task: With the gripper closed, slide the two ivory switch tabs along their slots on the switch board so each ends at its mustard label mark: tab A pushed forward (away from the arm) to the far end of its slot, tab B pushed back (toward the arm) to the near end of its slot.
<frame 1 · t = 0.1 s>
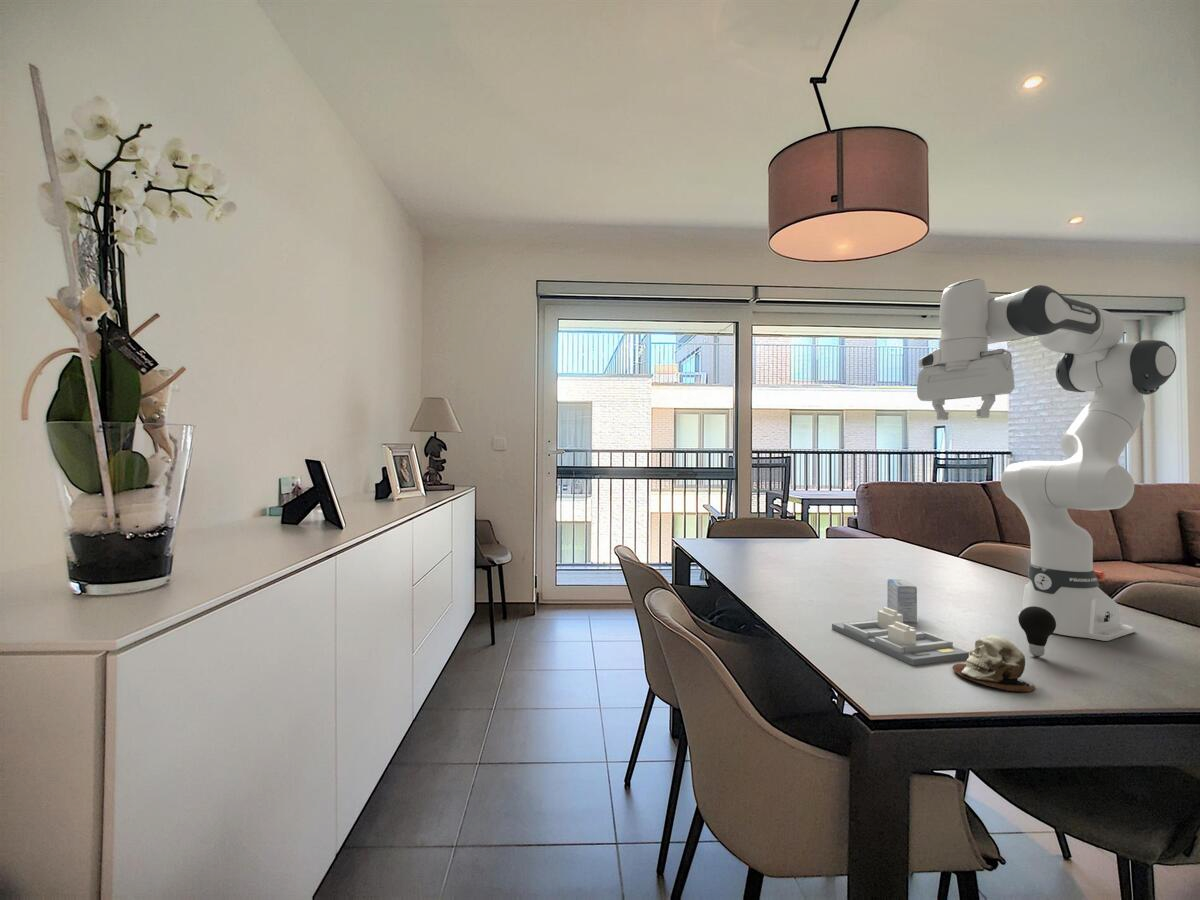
hand: (962, 419, 119), 48 cm above the table, fingers open, 8 cm apart
skull: (992, 680, 99), on the table
tab A: (890, 619, 122), point 3 cm above the table, slide at -3.0 cm
light bulb: (1036, 658, 109), on the table
tab B: (901, 634, 111), point 3 cm above the table, slide at 3.0 cm
medicine box: (901, 618, 135), on the table
switch board: (895, 642, 117), on the table
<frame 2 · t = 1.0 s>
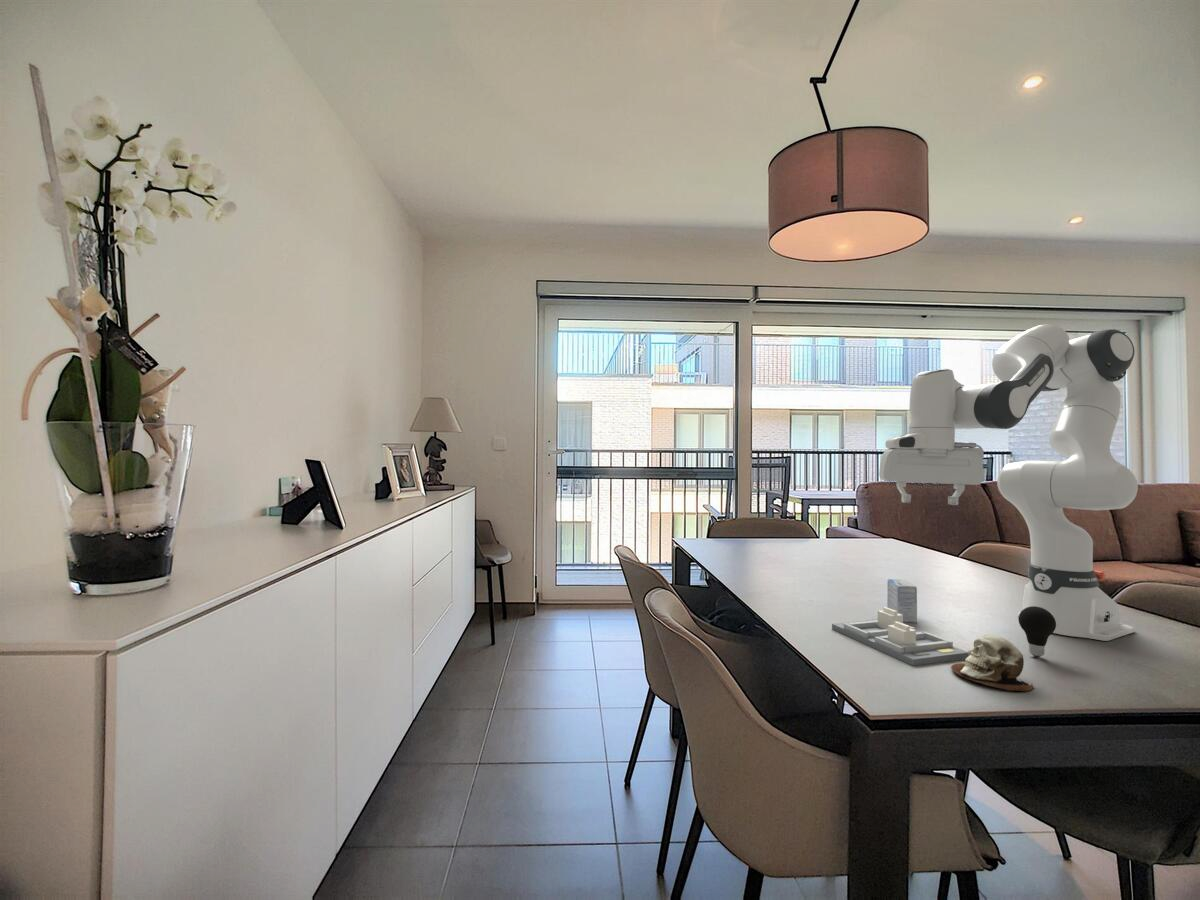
hand: (929, 503, 122), 29 cm above the table, fingers open, 8 cm apart
nothing on the table moved.
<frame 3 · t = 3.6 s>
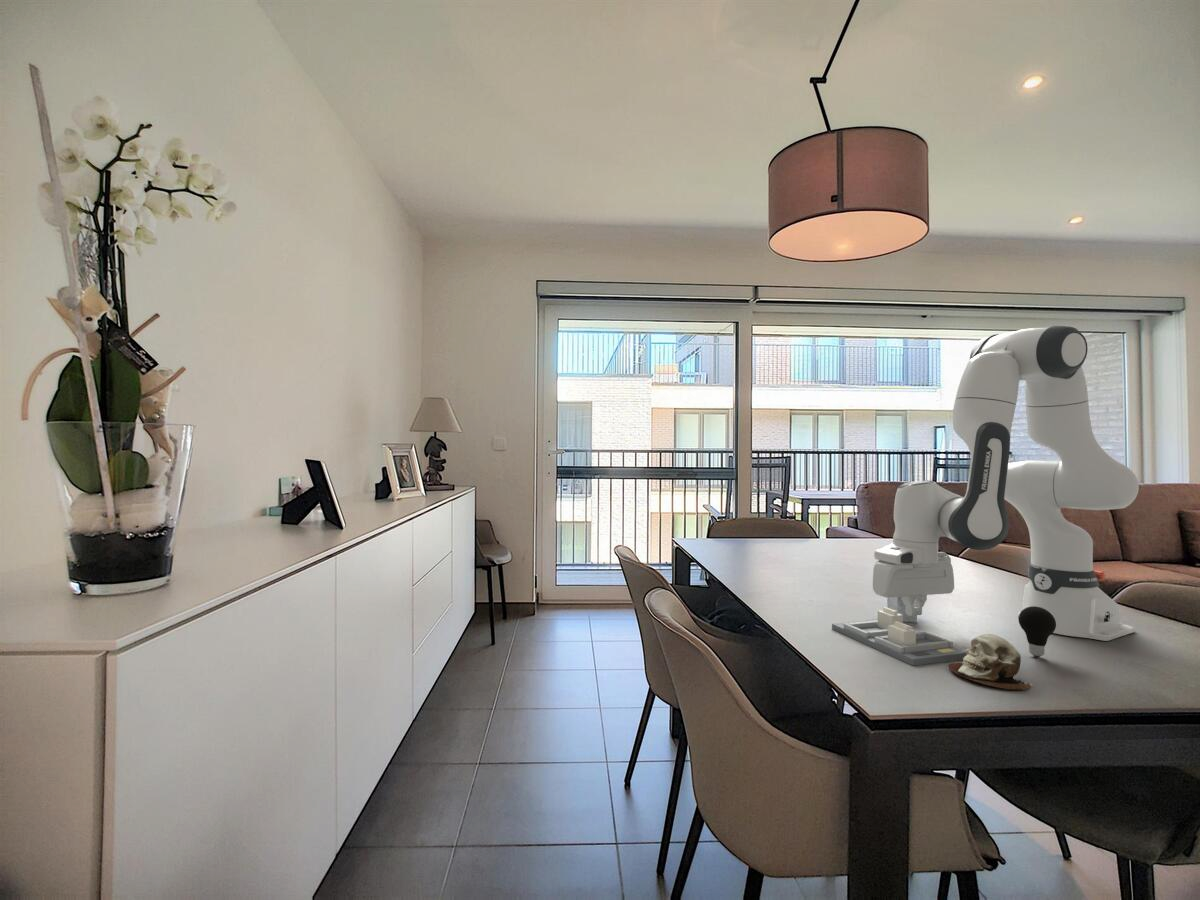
hand: (913, 614, 123), 4 cm above the table, fingers closed
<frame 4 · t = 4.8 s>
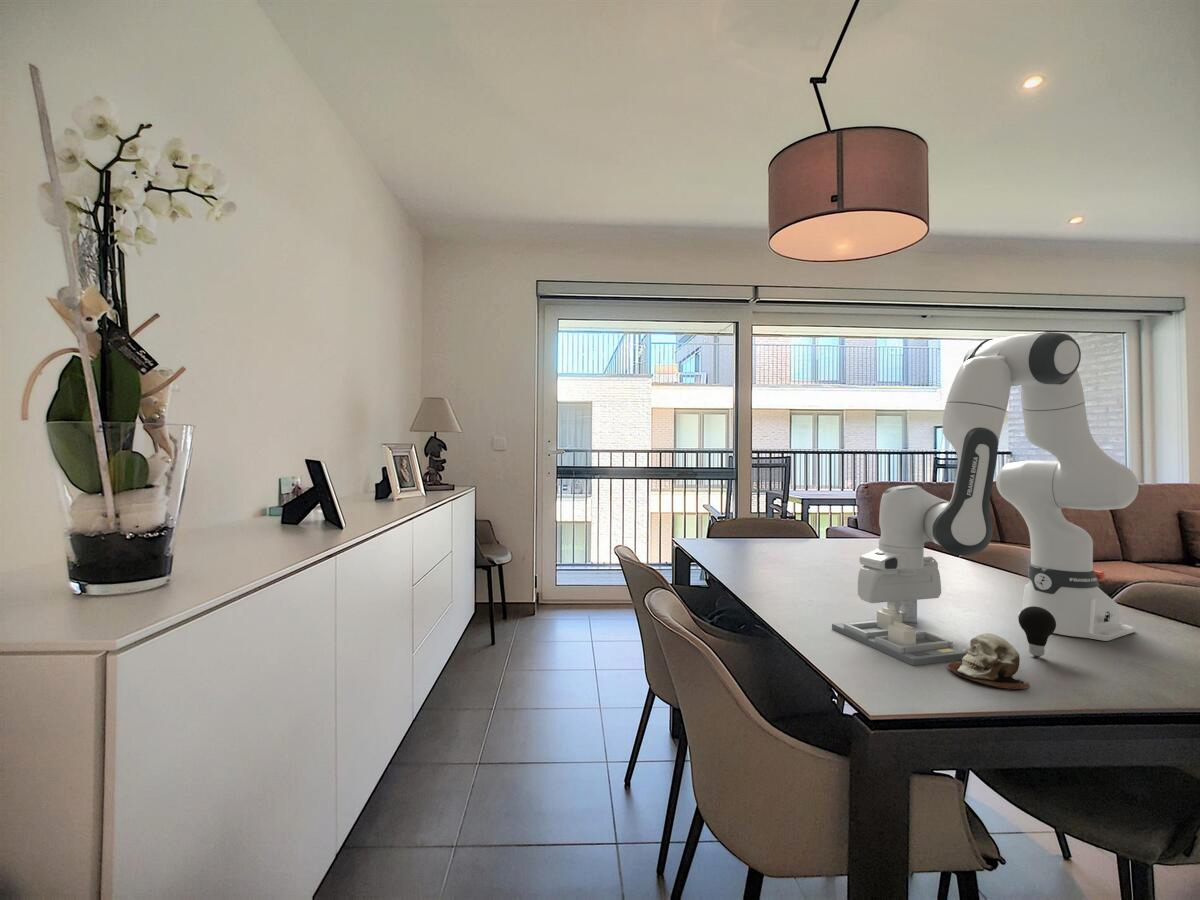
hand: (899, 619, 123), 3 cm above the table, fingers closed
tab A: (889, 619, 122), point 3 cm above the table, slide at -2.7 cm, touching gripper
everything else where it was.
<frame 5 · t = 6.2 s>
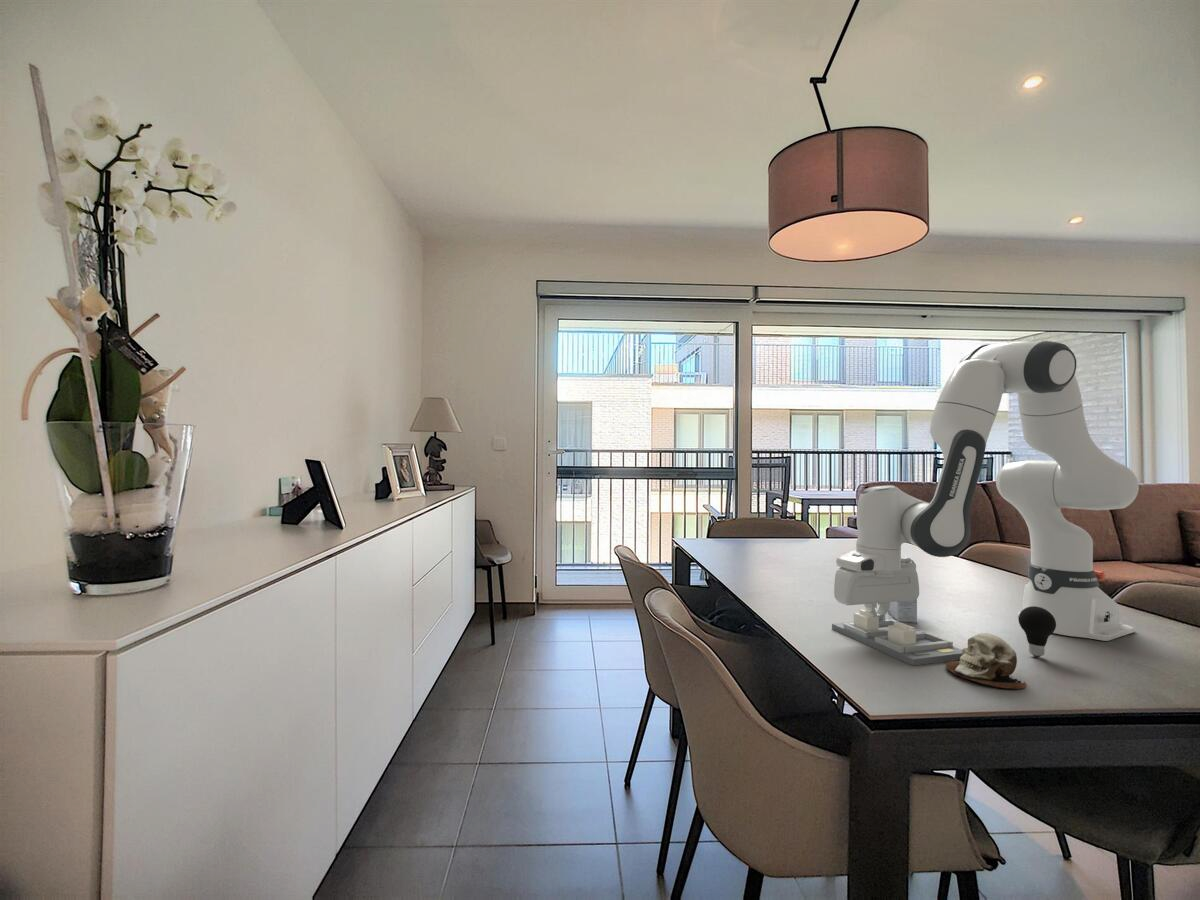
hand: (877, 622, 121), 3 cm above the table, fingers closed
tab A: (866, 621, 120), point 3 cm above the table, slide at 3.5 cm, touching gripper
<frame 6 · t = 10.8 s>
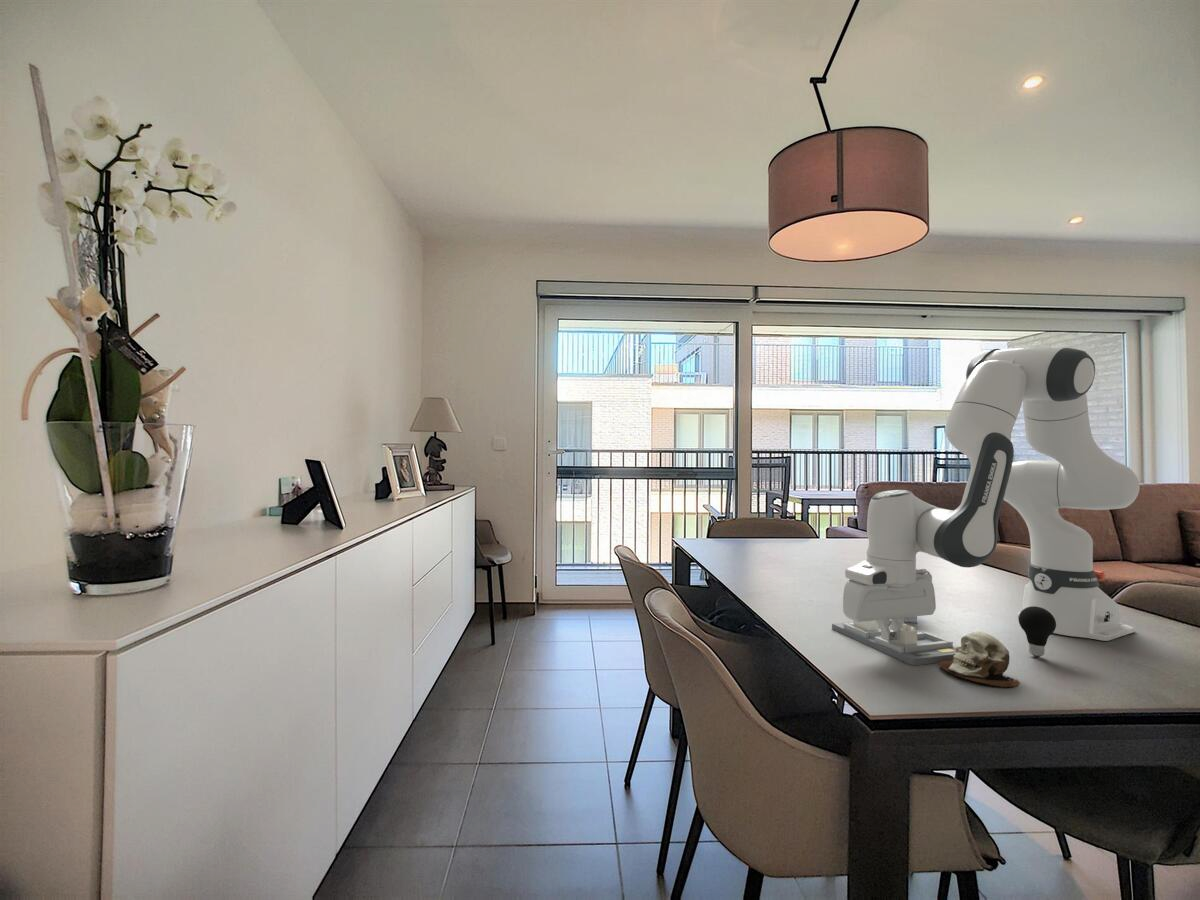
hand: (889, 639, 111), 3 cm above the table, fingers closed
skull: (977, 676, 100), on the table
tab A: (865, 621, 120), point 3 cm above the table, slide at 3.6 cm
tab B: (903, 634, 111), point 3 cm above the table, slide at 2.6 cm, touching gripper
everything else where it was.
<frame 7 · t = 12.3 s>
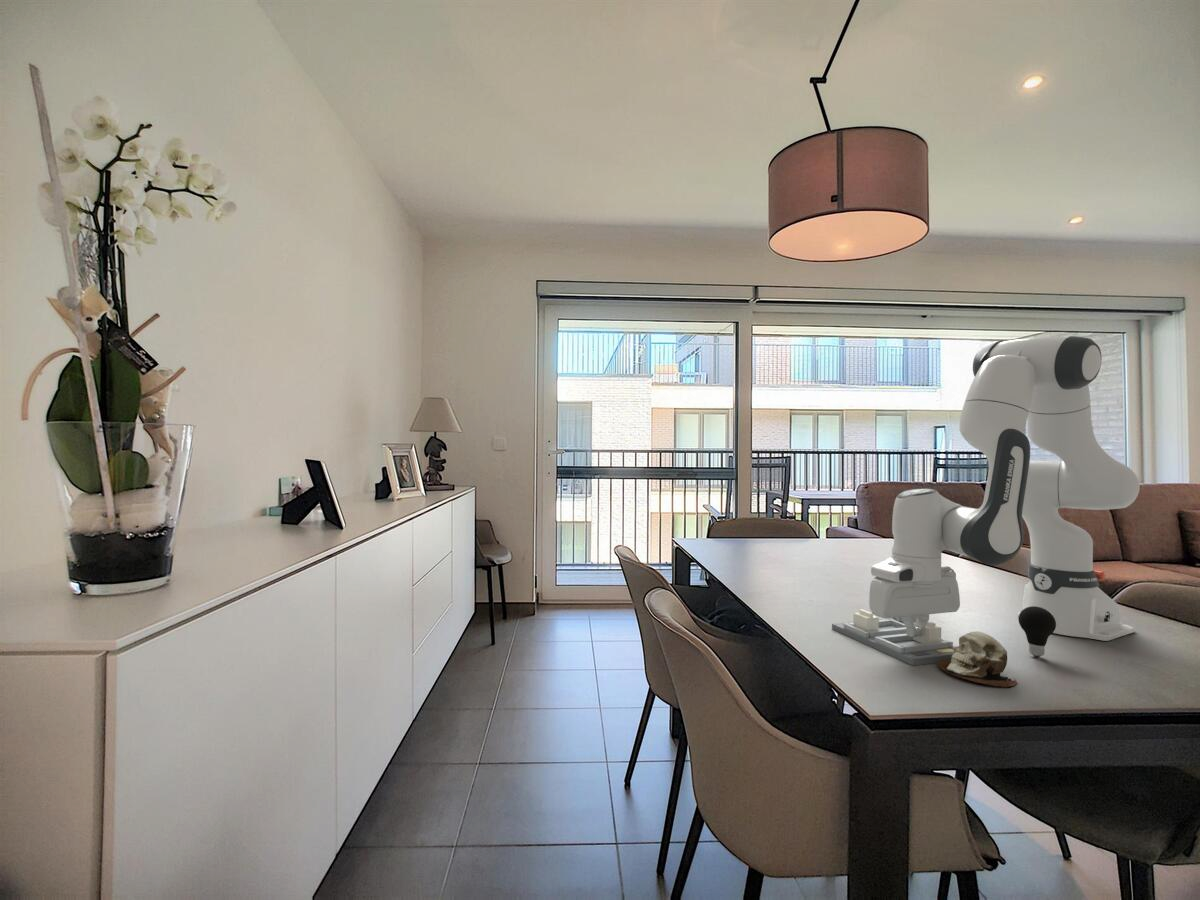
hand: (915, 635, 112), 3 cm above the table, fingers closed
tab B: (927, 631, 113), point 3 cm above the table, slide at -3.6 cm, touching gripper
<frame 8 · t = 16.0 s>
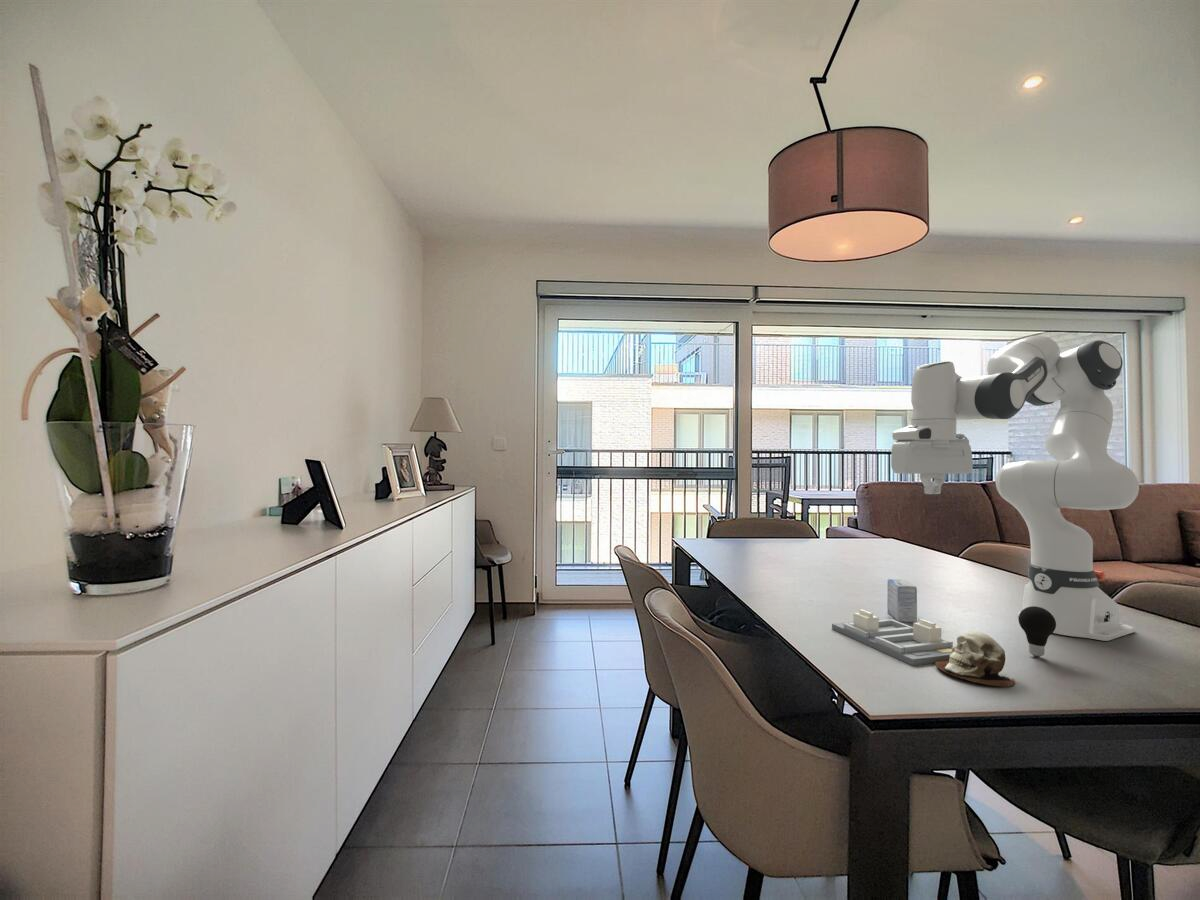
hand: (932, 494, 124), 31 cm above the table, fingers closed
tab B: (927, 631, 113), point 3 cm above the table, slide at -3.6 cm
at the end: tab A slide at 3.6 cm; tab B slide at -3.6 cm; tab B touching nothing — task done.
